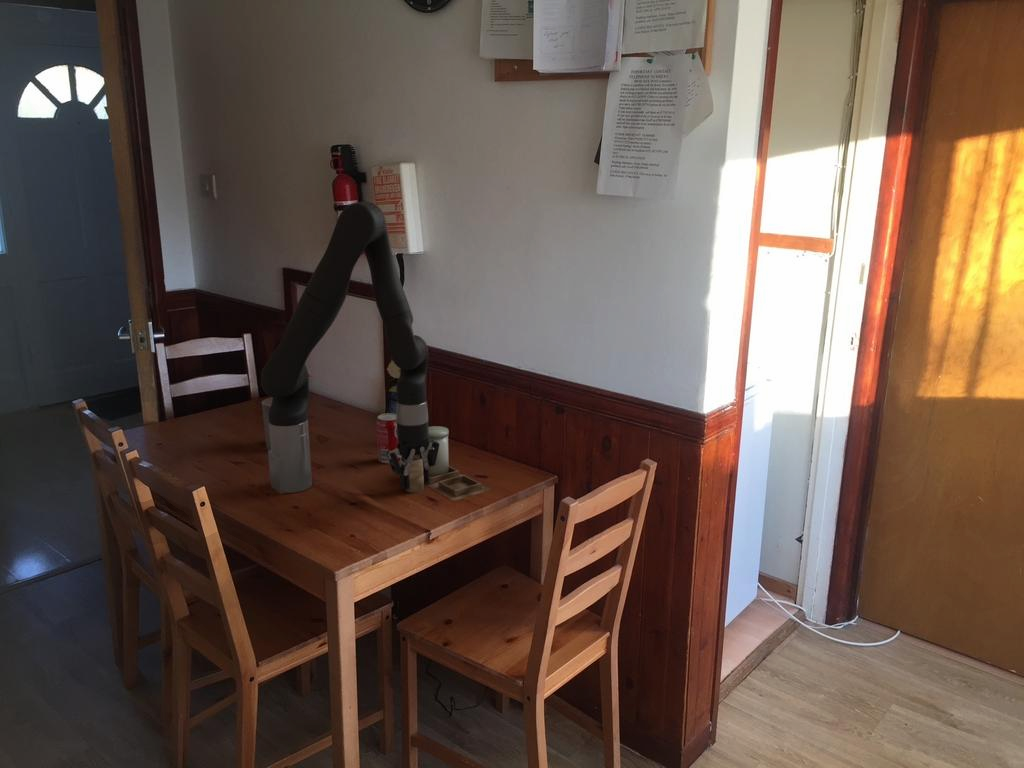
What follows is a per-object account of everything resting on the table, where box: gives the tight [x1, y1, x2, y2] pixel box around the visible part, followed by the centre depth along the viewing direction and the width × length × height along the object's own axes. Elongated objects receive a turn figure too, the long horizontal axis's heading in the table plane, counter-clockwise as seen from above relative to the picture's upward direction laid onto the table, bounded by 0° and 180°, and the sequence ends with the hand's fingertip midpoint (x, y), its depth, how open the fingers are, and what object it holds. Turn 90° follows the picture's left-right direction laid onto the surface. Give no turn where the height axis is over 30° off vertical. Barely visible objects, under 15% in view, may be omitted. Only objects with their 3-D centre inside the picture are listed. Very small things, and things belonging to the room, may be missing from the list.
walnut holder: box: [424, 465, 492, 502], centre depth 211 cm, size 11×22×2 cm, turn 37°
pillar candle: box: [260, 397, 273, 451], centre depth 237 cm, size 10×10×15 cm
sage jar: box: [425, 425, 450, 477], centre depth 214 cm, size 7×7×12 cm
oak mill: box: [404, 454, 425, 494], centre depth 205 cm, size 4×4×10 cm
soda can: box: [375, 412, 401, 465], centre depth 225 cm, size 7×7×13 cm
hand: (414, 485), depth 206 cm, fingers closed on oak mill, 4 cm apart
